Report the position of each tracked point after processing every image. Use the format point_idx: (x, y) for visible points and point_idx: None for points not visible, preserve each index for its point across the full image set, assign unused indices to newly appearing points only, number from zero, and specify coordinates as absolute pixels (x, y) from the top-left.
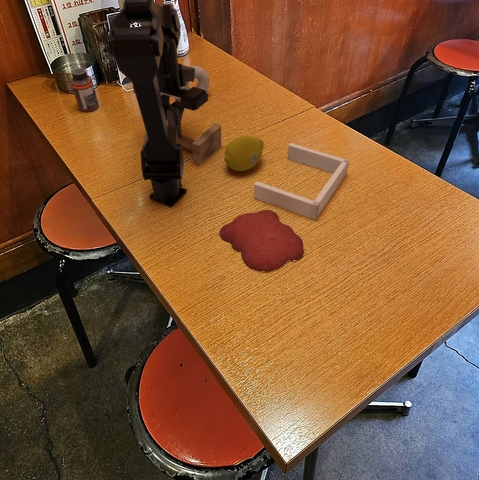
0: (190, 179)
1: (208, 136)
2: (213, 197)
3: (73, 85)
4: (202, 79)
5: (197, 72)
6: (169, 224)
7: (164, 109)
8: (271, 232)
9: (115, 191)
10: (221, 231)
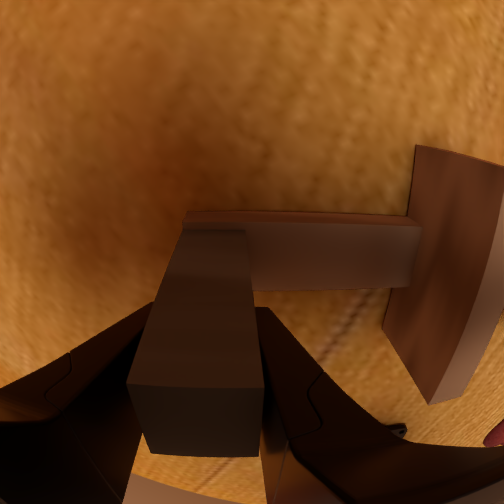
0: (400, 390)
1: (497, 319)
2: (472, 399)
3: None
4: None
5: None
6: None
7: (126, 444)
8: None
9: (217, 477)
10: (489, 445)
